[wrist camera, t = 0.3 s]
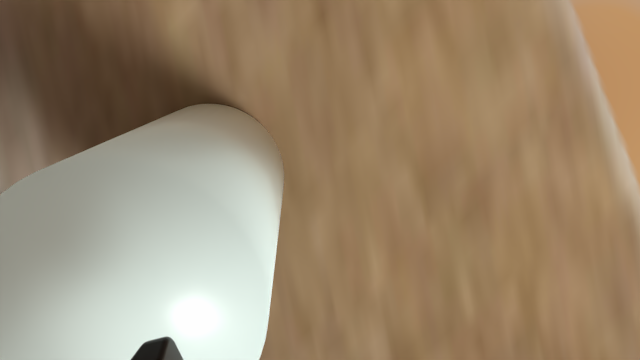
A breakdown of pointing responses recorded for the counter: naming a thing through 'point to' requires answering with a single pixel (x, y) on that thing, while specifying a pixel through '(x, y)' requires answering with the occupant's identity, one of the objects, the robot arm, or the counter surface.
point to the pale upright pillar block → (145, 243)
